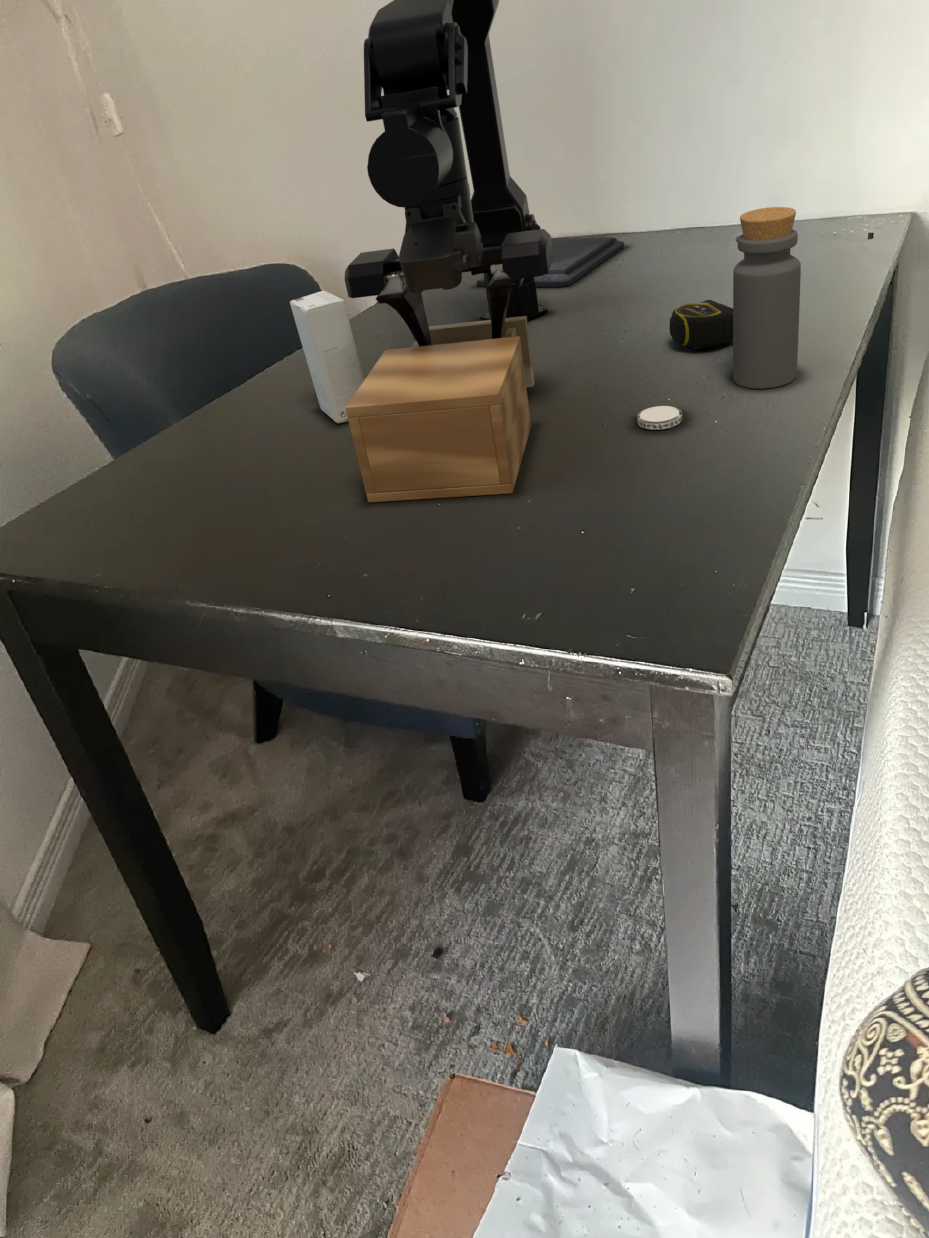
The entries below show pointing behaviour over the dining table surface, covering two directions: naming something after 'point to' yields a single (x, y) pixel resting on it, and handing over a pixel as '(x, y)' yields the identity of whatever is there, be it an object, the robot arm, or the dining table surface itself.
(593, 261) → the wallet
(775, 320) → the bottle
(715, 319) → the tape measure
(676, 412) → the cream flat disc
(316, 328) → the cosmetic box
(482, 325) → the drawer
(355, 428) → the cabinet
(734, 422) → the dining table surface
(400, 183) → the robot arm
